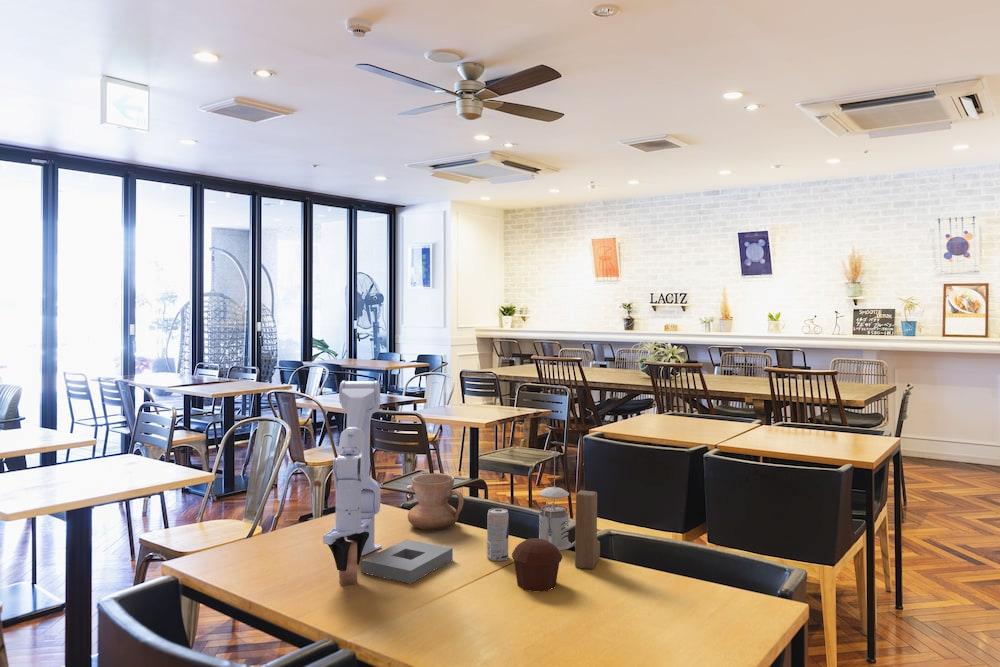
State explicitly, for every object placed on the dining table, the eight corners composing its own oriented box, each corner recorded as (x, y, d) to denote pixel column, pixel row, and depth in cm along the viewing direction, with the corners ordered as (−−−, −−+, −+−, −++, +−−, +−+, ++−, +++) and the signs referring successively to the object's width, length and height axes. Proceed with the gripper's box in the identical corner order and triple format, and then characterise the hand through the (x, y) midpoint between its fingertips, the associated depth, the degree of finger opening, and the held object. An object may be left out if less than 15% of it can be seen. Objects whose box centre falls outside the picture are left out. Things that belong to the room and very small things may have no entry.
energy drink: (509, 554, 182) (509, 508, 181) (507, 562, 176) (507, 514, 176) (488, 554, 182) (488, 507, 182) (485, 561, 177) (486, 513, 177)
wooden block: (582, 556, 181) (583, 485, 181) (600, 558, 180) (601, 487, 180) (574, 567, 173) (575, 494, 172) (593, 570, 171) (593, 495, 171)
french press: (575, 541, 194) (576, 449, 193) (565, 554, 183) (566, 457, 182) (540, 537, 197) (541, 446, 196) (528, 550, 186) (529, 454, 185)
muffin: (572, 584, 162) (572, 541, 162) (541, 598, 154) (541, 552, 154) (532, 571, 170) (533, 530, 170) (500, 583, 162) (501, 540, 162)
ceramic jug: (394, 529, 202) (394, 479, 202) (420, 516, 216) (420, 469, 215) (449, 538, 195) (450, 486, 195) (473, 524, 208) (474, 475, 208)
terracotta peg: (335, 583, 162) (335, 543, 161) (347, 577, 165) (347, 539, 165) (349, 586, 160) (349, 546, 159) (360, 580, 163) (360, 541, 163)
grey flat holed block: (361, 572, 168) (361, 560, 168) (406, 550, 184) (406, 539, 184) (410, 583, 162) (410, 570, 161) (452, 560, 177) (452, 548, 177)
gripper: (340, 518, 154) (340, 580, 154) (382, 502, 166) (382, 560, 167) (315, 513, 157) (315, 574, 157) (358, 498, 170) (358, 555, 170)
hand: (348, 567), depth 162 cm, fingers closed on terracotta peg, 4 cm apart
